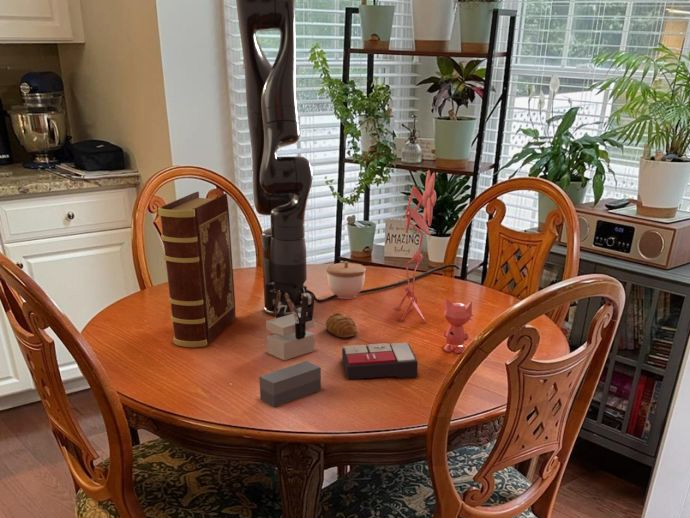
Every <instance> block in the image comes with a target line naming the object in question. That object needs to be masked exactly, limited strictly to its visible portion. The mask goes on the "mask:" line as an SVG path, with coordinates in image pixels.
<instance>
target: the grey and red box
mask: <svg viewBox="0 0 690 518" xmlns="http://www.w3.org/2000/svg"><path fill="white" fill-rule="evenodd" d="M341 354H342V355H341V356H342V364H343V367H344V371H345V375H346V379H347V380H360V379H372V378H374V379H375V378H385V377H387V378H389V377H397V378H399V379H406V378H407V379H408V378H417V377H418V367H419V366H418V359H417V357H416V355H415V353H414V351H413V349H412V347H411V345H410V344H409V343H408V342H396V343H389V342H383V343H370V344H367V345H366V344H354V345H353V344H352V345H344V347H342V348H341Z"/></svg>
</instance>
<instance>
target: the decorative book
mask: <svg viewBox="0 0 690 518" xmlns="http://www.w3.org/2000/svg"><path fill="white" fill-rule="evenodd" d="M157 213H158V216H160V223H161V233H162V234H160V237H161V241H163V248H164V254H163V255H162V256H163V260H164V261H165V267H166V275H167V285H168V291H169V297H168V303H169V304H170V308H171V309H170V311H171V315H170V321H171V322H172V326H173V334H174V336H172V339H173V340H172V341H173V344H174V345H176V346H178V347H182V348H190V349H191V348H203V347H206V346H207V345H208V344H209V343H210V342H211V341H212V340H214V338H216V337H217V336H218V335H219V334H220V333H222V331H223V330H224V329H226V328H227V327H228V326H229V325H230V324H231V323H233V321H234V320H235V319H236V296H235V295H236V294H235V282H234V281H235V279H234V268H233V266H234V265H233V252H232V251H233V250H232V239H231V237H232V236H231V224H230V210H229V201H228V194H227V192H225V193H223V194H221V195H220V196H218V197H216V198H209V197H208V198H205V197H200V192H199V191H196V192H192V193H190V194H188V195H186V196H183V197H181V198H179V199H176V200H174V201H171V202H169V203H166V204H165V205H163V206H158V207H157Z"/></svg>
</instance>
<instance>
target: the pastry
mask: <svg viewBox="0 0 690 518" xmlns="http://www.w3.org/2000/svg"><path fill="white" fill-rule="evenodd" d="M325 327H326V330H327V331H328V332H329V333H331V334H332V335H333V336H335V337H338V338H348V337H355V336H356V334H357V333H358V330H357V328H358V327H357V325H356V322H355V320H354V319H353V318H352V317H351V316H349V315H346V314H344V313H341V312H335V313H333V314H331V315H329V317H327V319H326V321H325Z"/></svg>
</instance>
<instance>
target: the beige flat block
mask: <svg viewBox="0 0 690 518" xmlns="http://www.w3.org/2000/svg"><path fill="white" fill-rule="evenodd" d="M298 314H299V317H301V314H300V312H299V313H298ZM295 323H296V322H295V318H294V315H293V314H290V315H286V316H283V317H279V318H276V317H275V318H272V319H268V320H266V321H265V324H266V328H265V329H266V330H267V331H269V332H272V333H274V334H276V333H277V334H279V335H281V336H287V335H290V334H293V333H296V329H295ZM313 328H315V318H313V319H312V320H311V321H308V322H306V331H307V330H310V329H313Z"/></svg>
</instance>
